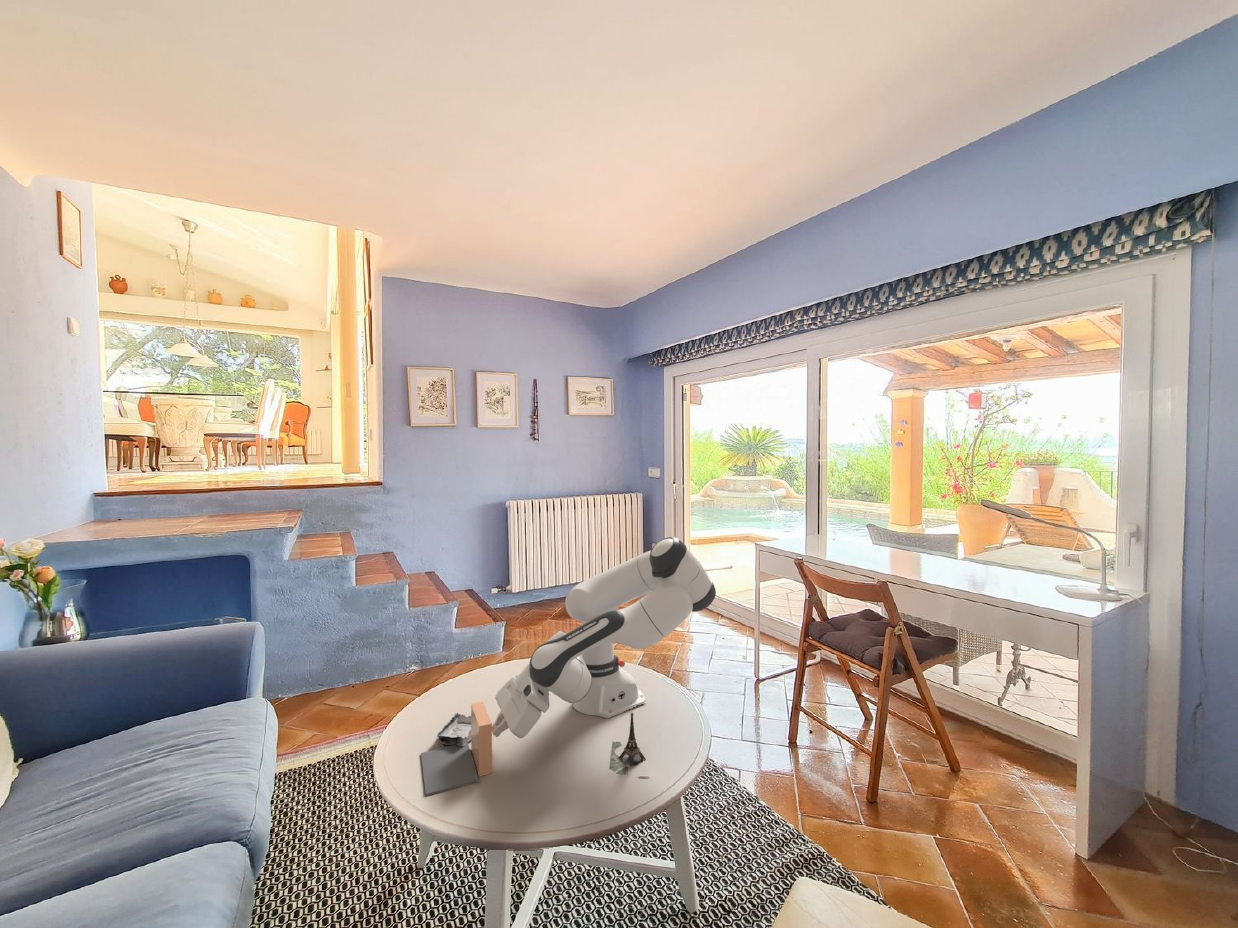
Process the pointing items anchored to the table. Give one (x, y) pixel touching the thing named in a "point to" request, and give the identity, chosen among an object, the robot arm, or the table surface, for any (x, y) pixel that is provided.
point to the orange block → (481, 738)
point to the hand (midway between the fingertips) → (493, 732)
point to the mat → (448, 768)
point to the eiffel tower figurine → (626, 754)
